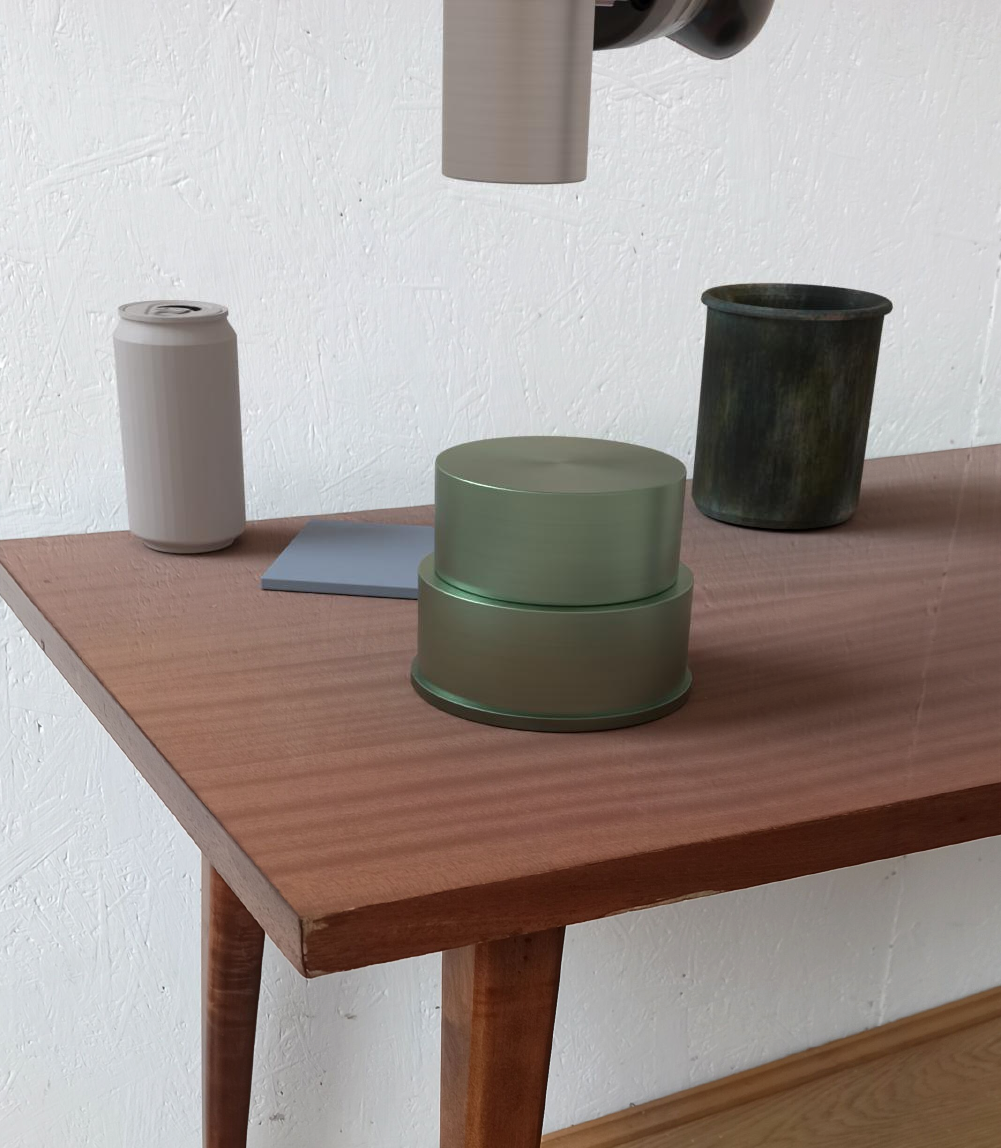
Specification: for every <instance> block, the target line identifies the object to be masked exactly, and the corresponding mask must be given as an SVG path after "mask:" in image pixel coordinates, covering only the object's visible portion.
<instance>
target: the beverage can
mask: <svg viewBox="0 0 1001 1148" xmlns="http://www.w3.org/2000/svg"><path fill="white" fill-rule="evenodd" d="M117 312H118V313H117V314H118V316H119V317H120V319H119V322H118V323H117V324H116V327H115V328H114V330H113V332H112V341H113V353H114V366H115V367H114V368H115V377H116V378H115V379H116V390H117V400H118V401H117V402H118V413H119V425H120V436H121V448H122V460H123V461H122V462H123V471H124V472H123V473H124V482H125V483H124V484H125V494H126V507H127V517H128V518H127V521H128V527H129V531H130V532H131V533H132V535H134V536H135V537H137V538H138V539H140V540H141V541H142V542H143V544H144V545H145V546H146V547H148V548H150V549H152V550H155V551H157V552H163V553H170V554H201V553H208V552H214V551H219V550H221V549H225V548H227V547H229V546H231V545H232V544H233V543H234V541H235V539H236V538H238V537H240V536H241V535H242V534H243V533H245V531H246V529H247V513H246V512H247V511H246V510H247V509H246V493H245V472H244V453H243V452H244V451H243V434H242V433H243V432H242V431H243V430H242V411H241V391H240V372H239V352H238V351H239V350H238V334H237V332H236V331H235V329H234V327H233V326H232V325H231V323H230V322H229V320H228V317H229V308H228V306H225V305H222V304H218V303H215V302H208V301H200V300H182V299H181V300H180V299H163V300H160V299H159V300H158V299H157V300H142V301H134V302H130V303H125V304H122V305H120V306H118V308H117Z"/></svg>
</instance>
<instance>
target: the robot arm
mask: <svg viewBox="0 0 1001 1148" xmlns="http://www.w3.org/2000/svg"><path fill="white" fill-rule="evenodd" d="M775 1H776V0H595V16H594V36H593V52H597V51H608V50H609V51H610V50H618V49H627V48H631V47H636V46H640V45H641V44H644V43H647V42H649V41H651V40H657V39H660V38H664V37H665V38H667V39H669V40H671V41H673V42H675V43H676V44H677V45H679V46H681V47H683V48H685V49H687V50H688V51H691V52H693V53H694V54H697V55H698V56H700V57H702V58H705V59H709V60H712V61H725V60H727V59H730V58H733V57H734V56H736V55H737V54H739V53H741V52H742V51H744V50H745V49H746V48H747V47H748V46H749V45H751V43H752V42H753V41H754V40H755V39H756V38H757V37H758V36H759V34H760V33H761V32H762V30H763V28H764V26H765V25H766V23H767V21H768V18H769V17H770V15H771V12H772V10H773V7H774V4H775Z"/></svg>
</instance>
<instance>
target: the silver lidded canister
mask: <svg viewBox="0 0 1001 1148" xmlns="http://www.w3.org/2000/svg"><path fill="white" fill-rule="evenodd" d="M594 16H595V0H442V81H441V82H442V83H441V84H442V85H441V86H442V87H441V89H442V90H441V91H442V92H441V93H442V94H441V113H442V114H441V174H442V176H444V177H446V178H448V179H449V178H450V179H453V180H458V181H464V182H465V181H466V182H474V183H475V182H476V183H483V184H484V183H486V184H500V185H501V184H502V185H503V184H504V185H534V186H535V185H564V184H565V185H566V184H576V183H580V182H584V181H586V179H587V175H588V157H589V156H588V154H589V135H590V115H591V98H592V97H591V95H592V78H593V77H592V74H593V55H594V54H593V53H594V51H593V36H594Z"/></svg>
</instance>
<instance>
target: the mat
mask: <svg viewBox="0 0 1001 1148" xmlns="http://www.w3.org/2000/svg"><path fill="white" fill-rule="evenodd" d="M433 551H434V525H417V524H400V523H384V522H383V523H382V522H368V521H367V522H366V521H352V520H351V521H350V520H334V519H333V520H332V519H318V518H317V519H316V518H310V519H309V520H308V521H307V522H306V524H305V525H304V526H303V527H302V529H301V530H300V531H299V532H298V533H297V534H296V536H294V538H293V539H292V540H291V541H290V542H289V544H288V545H287V546H286V547H285V548H284V550H283V551H282V552H281V553H280V554H279V556H278V557H277V558H276V559H275V560H274V561H273V562H272V564H271V565H270V566H269V567H268V569H267V570H266V571H265V572H264V573H263V575H262V576H261V577H260V589H261V590H269V591H270V590H271V591H272V590H273V591H284V592H285V591H286V592H287V591H288V592H301V593H316V594H317V593H319V594H330V595H331V594H333V595H349V596H364V597H377V598H378V597H379V598H392V599H393V598H394V599H410V600H411V599H412V600H418V566H419V564H420V562H421V560H422V559H423V558H424V557H425V556H427V555H428V554H429V553H431V552H433Z"/></svg>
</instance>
